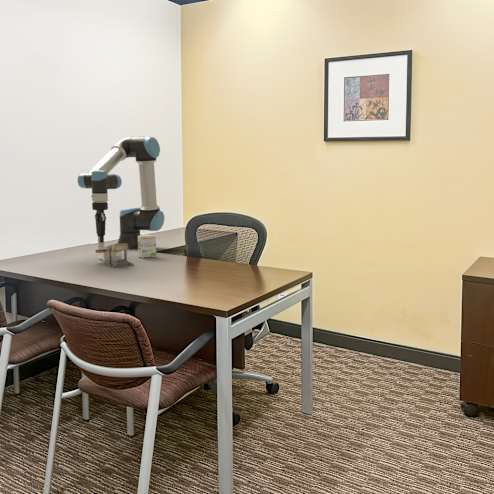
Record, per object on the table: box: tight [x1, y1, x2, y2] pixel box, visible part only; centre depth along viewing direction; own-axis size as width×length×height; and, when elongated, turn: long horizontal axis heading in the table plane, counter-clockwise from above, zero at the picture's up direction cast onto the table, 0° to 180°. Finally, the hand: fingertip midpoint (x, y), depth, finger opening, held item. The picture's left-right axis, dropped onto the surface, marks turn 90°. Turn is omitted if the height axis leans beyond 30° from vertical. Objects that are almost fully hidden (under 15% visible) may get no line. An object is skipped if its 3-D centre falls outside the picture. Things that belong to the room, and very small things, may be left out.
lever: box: [95, 243, 129, 254], centre depth 279 cm, size 18×12×3 cm, turn 28°
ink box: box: [137, 234, 157, 258], centre depth 299 cm, size 9×5×12 cm, turn 122°
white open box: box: [98, 246, 123, 262], centre depth 293 cm, size 9×10×6 cm
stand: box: [102, 247, 135, 269], centre depth 279 cm, size 17×11×8 cm, turn 28°
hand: (101, 248), depth 283 cm, fingers closed
